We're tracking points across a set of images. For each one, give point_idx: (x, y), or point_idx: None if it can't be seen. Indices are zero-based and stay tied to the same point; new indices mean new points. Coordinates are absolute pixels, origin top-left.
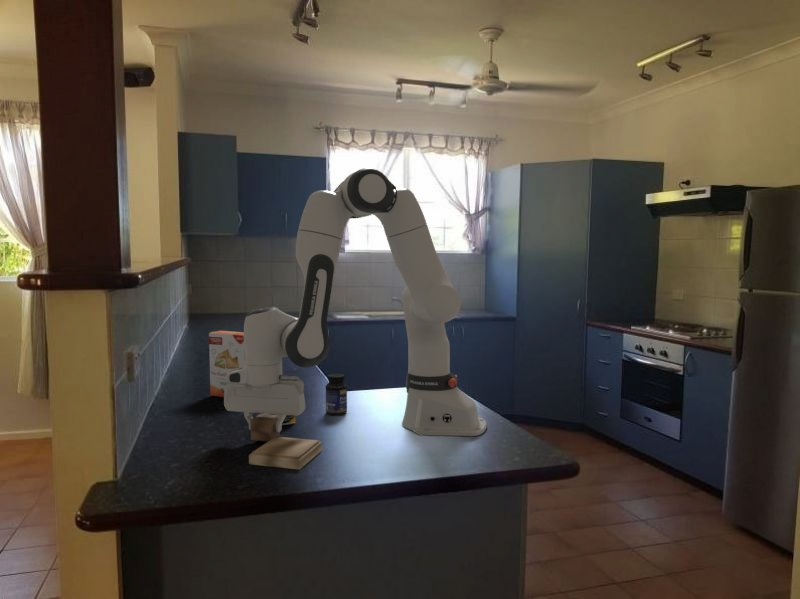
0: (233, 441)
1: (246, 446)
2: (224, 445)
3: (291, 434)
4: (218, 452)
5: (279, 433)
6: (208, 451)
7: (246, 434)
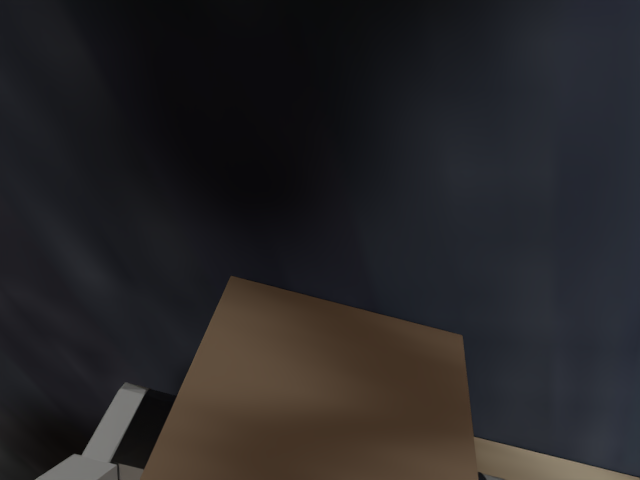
0: (41, 319)
1: None
2: (36, 384)
3: (605, 144)
4: None
5: (462, 350)
6: (17, 453)
7: (25, 139)
